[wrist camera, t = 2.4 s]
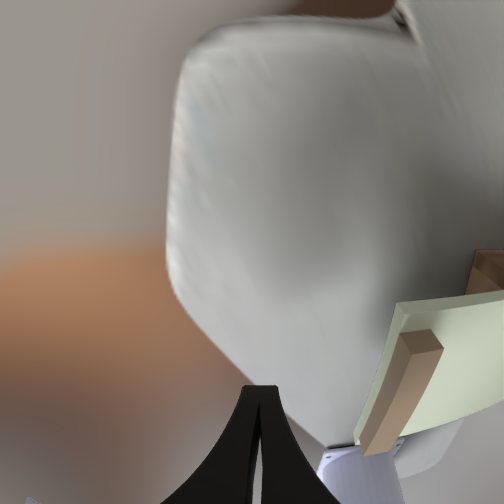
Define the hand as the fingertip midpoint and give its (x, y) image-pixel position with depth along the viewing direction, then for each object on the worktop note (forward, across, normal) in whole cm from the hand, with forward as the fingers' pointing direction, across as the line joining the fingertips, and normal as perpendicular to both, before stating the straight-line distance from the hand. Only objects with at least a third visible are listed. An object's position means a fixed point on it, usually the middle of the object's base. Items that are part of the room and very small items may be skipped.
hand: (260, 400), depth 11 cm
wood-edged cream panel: (+1, -13, 0) cm, 13 cm away
